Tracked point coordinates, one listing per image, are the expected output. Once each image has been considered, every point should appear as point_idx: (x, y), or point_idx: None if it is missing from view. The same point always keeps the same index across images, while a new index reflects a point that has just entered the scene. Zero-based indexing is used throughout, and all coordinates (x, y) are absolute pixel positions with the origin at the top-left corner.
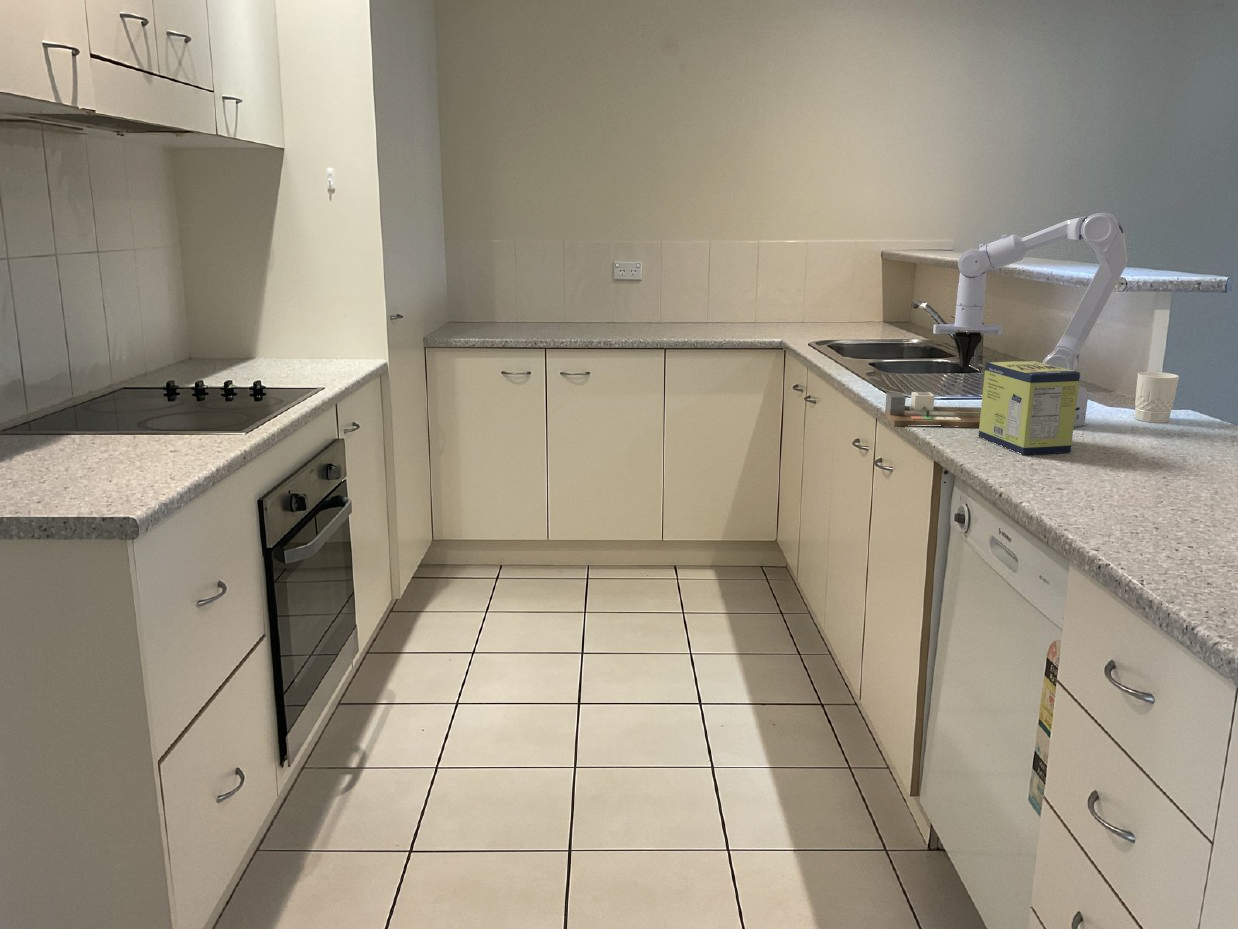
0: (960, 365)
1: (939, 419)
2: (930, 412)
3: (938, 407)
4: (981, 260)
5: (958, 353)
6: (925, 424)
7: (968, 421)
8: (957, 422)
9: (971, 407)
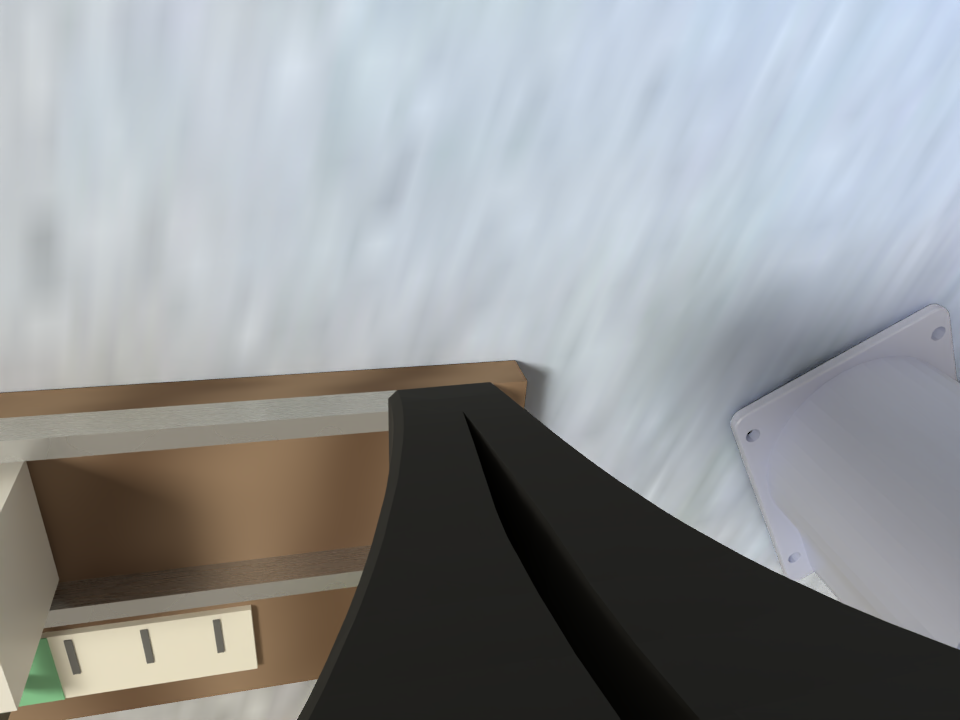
0: (389, 438)
1: (103, 691)
2: None
3: (114, 452)
4: None
5: (379, 527)
6: None
7: (302, 669)
8: (228, 688)
9: None
